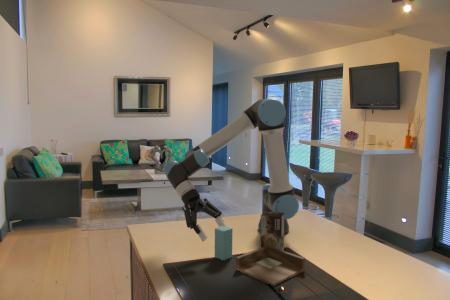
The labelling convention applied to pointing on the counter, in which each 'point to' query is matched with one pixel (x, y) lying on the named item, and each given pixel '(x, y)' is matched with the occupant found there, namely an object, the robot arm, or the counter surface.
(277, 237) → the coffee box
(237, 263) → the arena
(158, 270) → the counter surface
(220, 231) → the teal block
